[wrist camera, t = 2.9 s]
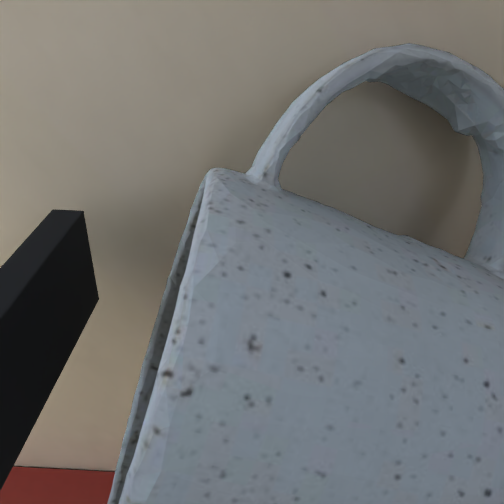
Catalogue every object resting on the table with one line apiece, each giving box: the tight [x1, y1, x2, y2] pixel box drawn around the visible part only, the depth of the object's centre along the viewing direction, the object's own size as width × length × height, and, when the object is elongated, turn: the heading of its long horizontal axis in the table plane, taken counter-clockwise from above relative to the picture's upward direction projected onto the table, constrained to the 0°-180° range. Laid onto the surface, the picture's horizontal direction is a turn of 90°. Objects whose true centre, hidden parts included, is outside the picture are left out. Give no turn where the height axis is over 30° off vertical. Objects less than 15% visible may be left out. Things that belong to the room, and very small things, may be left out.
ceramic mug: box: [107, 43, 504, 504], centre depth 9 cm, size 11×8×8 cm
